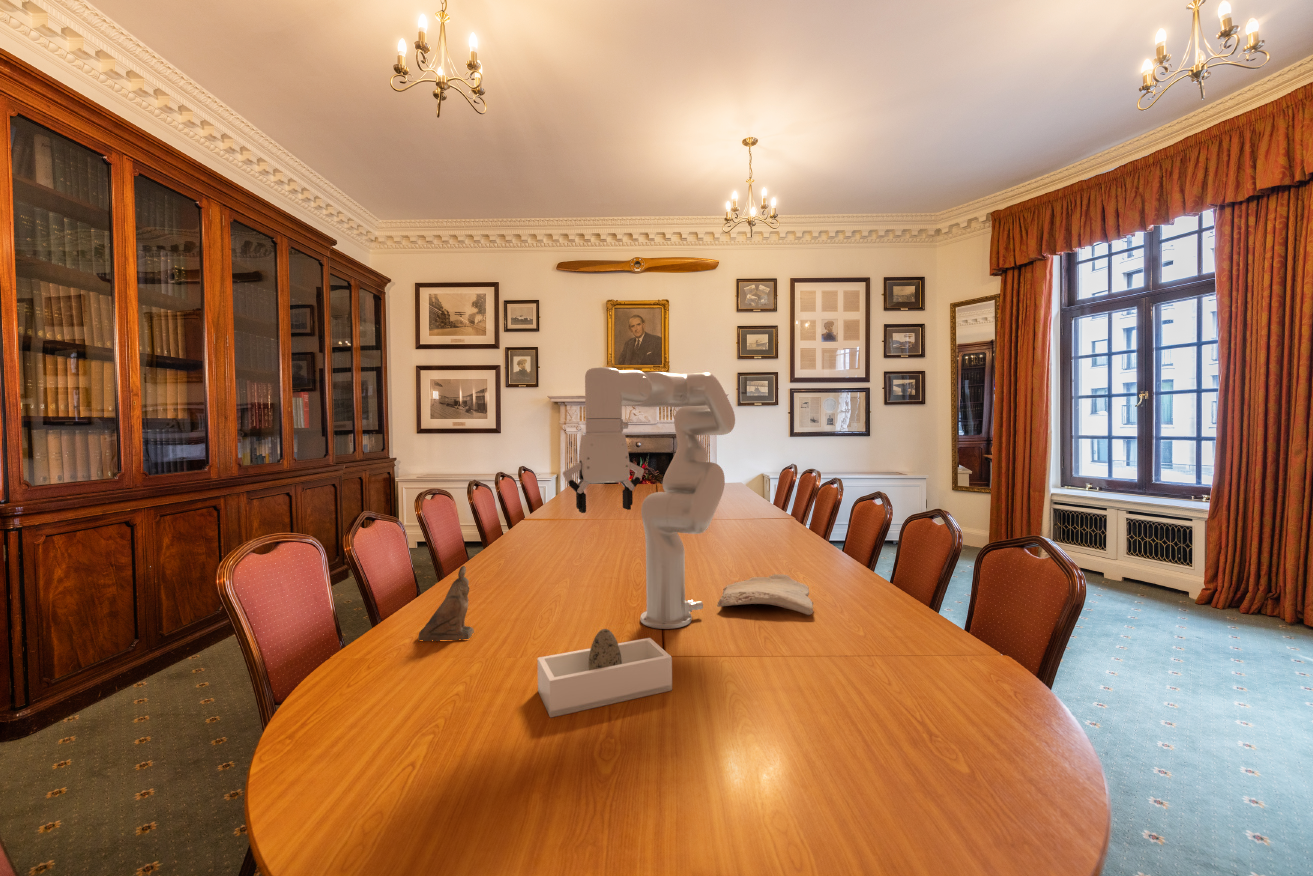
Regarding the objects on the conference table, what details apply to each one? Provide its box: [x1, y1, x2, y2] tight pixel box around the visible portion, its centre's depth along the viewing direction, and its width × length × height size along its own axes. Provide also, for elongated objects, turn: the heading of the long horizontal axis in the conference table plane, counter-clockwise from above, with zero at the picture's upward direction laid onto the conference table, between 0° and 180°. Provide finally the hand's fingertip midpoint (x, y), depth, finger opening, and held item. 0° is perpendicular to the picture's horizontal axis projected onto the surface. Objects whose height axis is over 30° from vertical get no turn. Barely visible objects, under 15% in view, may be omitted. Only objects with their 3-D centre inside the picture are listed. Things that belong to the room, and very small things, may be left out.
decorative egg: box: [588, 628, 622, 670], centre depth 96 cm, size 6×6×10 cm
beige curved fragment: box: [716, 573, 814, 616], centre depth 144 cm, size 24×8×20 cm
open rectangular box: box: [537, 637, 673, 718], centre depth 96 cm, size 22×10×6 cm, turn 114°
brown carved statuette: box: [417, 565, 475, 642], centre depth 123 cm, size 12×6×18 cm, turn 87°
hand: (604, 510), depth 111 cm, fingers open, 9 cm apart
